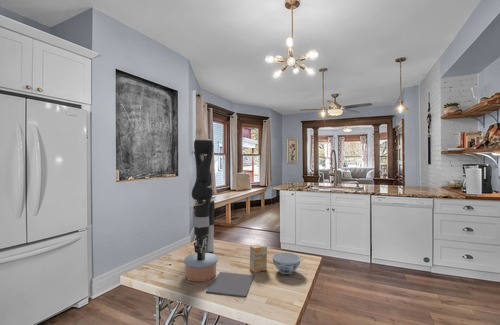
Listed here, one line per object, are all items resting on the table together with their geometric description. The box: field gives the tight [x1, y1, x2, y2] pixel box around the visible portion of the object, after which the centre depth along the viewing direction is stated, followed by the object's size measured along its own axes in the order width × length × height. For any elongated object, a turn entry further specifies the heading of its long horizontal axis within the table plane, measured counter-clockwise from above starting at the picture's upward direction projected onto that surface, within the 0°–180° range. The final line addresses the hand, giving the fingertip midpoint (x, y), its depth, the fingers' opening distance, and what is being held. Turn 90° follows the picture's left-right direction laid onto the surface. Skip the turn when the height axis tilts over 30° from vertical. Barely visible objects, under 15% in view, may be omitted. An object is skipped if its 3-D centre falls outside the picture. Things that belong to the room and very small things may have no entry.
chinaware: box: [272, 251, 302, 275], centre depth 129 cm, size 15×15×8 cm
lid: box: [183, 249, 219, 268], centre depth 124 cm, size 17×17×6 cm
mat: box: [206, 271, 255, 298], centre depth 115 cm, size 20×18×1 cm
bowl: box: [185, 263, 217, 283], centre depth 124 cm, size 15×15×7 cm
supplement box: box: [249, 243, 268, 273], centre depth 131 cm, size 8×5×13 cm, turn 117°
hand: (201, 258), depth 124 cm, fingers closed on lid, 4 cm apart
